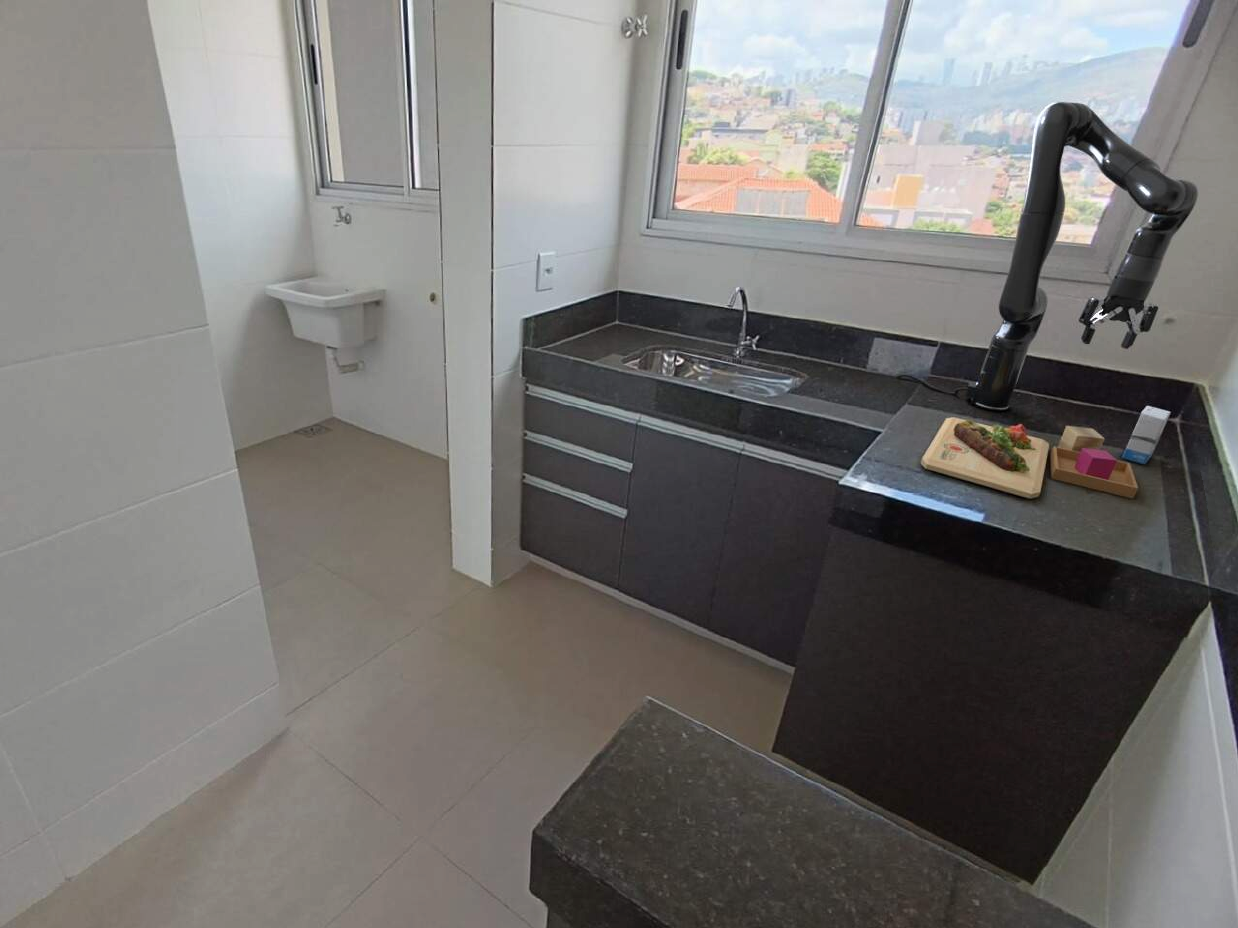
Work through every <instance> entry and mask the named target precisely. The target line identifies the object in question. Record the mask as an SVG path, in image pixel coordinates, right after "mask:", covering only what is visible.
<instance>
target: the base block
mask: <svg viewBox="0 0 1238 928" xmlns="http://www.w3.org/2000/svg"><path fill="white" fill-rule="evenodd" d="M1104 442H1105V437H1104V436H1102V435H1101V434H1100V433H1099V432H1097V431H1096V430H1095V429H1094V428H1090V427H1081V426H1071V425H1065V428H1064V431H1063V433H1062V436H1061V438H1060V440H1059V443H1058V445H1057V447H1060V448H1064V449H1069V450H1073V451H1078V452H1081V450H1082V448H1086V449H1095V450H1102V449H1101V448H1102V446H1103V444H1104Z"/></svg>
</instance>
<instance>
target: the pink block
mask: <svg viewBox="0 0 1238 928" xmlns="http://www.w3.org/2000/svg"><path fill="white" fill-rule="evenodd" d="M1117 461H1118V459H1116V458H1115V457H1114V456H1112V454H1110V453H1109V452H1108V451H1107V450H1104V449H1100V450H1095V449H1086V448H1082V450H1081V453H1080V455H1079V457H1078V460H1077V462H1076V464H1075V467H1074V468H1075V469H1076V470H1077V471H1078V472H1079V473H1081V474H1085V475H1089V476H1093V477H1097V478H1102V479H1106V480H1109V477H1110V475H1111V473H1112V471H1113V469H1114V466H1115V464H1116V462H1117Z"/></svg>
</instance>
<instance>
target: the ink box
mask: <svg viewBox="0 0 1238 928" xmlns="http://www.w3.org/2000/svg"><path fill="white" fill-rule="evenodd" d="M1171 413H1172V412H1171V411H1169V410H1165V409H1162V408H1158V407H1154V406H1150V405H1146V406H1145V407H1144V409H1142V411H1141V413H1140V415H1139V418H1138V420H1137V422H1136V424H1135V427H1134V429H1133V431H1132V433H1131V435H1130V438H1129V440H1128V443H1127V445H1126V447H1125V450H1124V452H1123V454H1122V457H1121V458H1122V459H1123V460H1126V461H1127V460H1128V461H1129V462H1130V461H1131V462H1134V463H1137V464H1141V465H1144V466H1145V465H1146V464H1147V462H1148V461H1149V460H1150V458H1151V457H1152V455H1153V453H1154V451H1155V449H1156V447H1157V445H1158V443H1159V440H1160V438H1161V435H1162V433H1163V431H1164V428H1165V426H1166V424H1167V422H1168V419H1169V417H1170V416H1171Z"/></svg>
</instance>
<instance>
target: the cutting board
mask: <svg viewBox="0 0 1238 928" xmlns="http://www.w3.org/2000/svg"><path fill="white" fill-rule="evenodd" d="M1049 448H1050V443H1049V442H1047V441H1046V440H1044V439H1043V438H1038V437H1035V436H1031V435H1027V428H1026V427H1025V426H1024V425H1023V424H1022V423H1019V424H1018V425H1011V426H1010V427H1009V428H1008V427H1003V426H1002V425H1000V424H994V425H993V426H991V425H986V424H983V423H979V422H975V421H972V420H971V419H962V418H958V417H947V418H945V419H944V421H943V423H942V425H941V426H940V427H939V430H938V431H937V433H936V434H935V436H934V438H933V440H932V441H931V443H930V444H929V446H928V448H927V450H925V453H924V455H923V456H922V458H921V460H920V464H921V466H922V467H923V468H924V469H926V470H929V471H933V472H935V473H939V474H943V475H945V476H949V477H953V478H956V479H960V480H962V481H963V480H964V481H966V482H971V483H974V484H977V485H981V486H985V487H988V488H990V489H991V488H992V489H995V490H999V491H1001V492H1004V493H1008V494H1012V495H1016V496H1019V497H1023V498H1026V499H1030V500H1031V499H1034V498H1039V497H1040V494H1041V490H1042V486H1043V480H1044V475H1045V470H1046V464H1047V459H1048V455H1049V454H1048V453H1049Z"/></svg>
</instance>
